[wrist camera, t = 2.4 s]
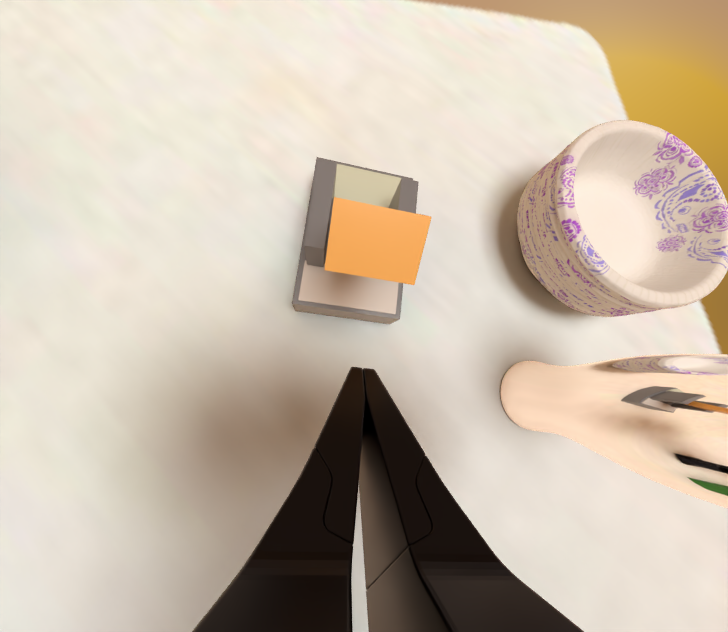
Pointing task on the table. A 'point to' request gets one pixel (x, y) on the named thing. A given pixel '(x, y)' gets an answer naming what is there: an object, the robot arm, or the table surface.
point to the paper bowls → (625, 222)
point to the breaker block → (313, 282)
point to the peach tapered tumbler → (635, 414)
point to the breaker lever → (375, 241)
